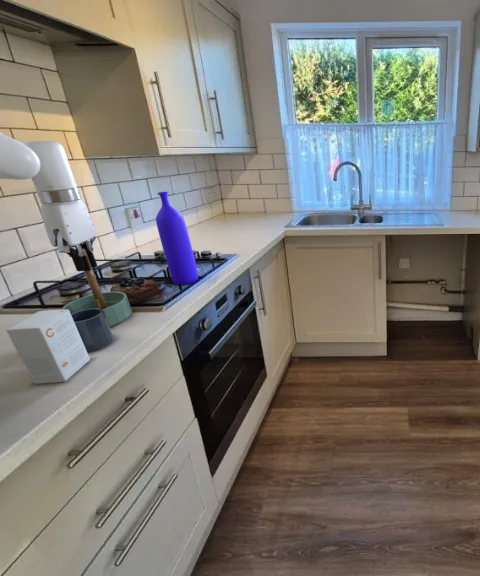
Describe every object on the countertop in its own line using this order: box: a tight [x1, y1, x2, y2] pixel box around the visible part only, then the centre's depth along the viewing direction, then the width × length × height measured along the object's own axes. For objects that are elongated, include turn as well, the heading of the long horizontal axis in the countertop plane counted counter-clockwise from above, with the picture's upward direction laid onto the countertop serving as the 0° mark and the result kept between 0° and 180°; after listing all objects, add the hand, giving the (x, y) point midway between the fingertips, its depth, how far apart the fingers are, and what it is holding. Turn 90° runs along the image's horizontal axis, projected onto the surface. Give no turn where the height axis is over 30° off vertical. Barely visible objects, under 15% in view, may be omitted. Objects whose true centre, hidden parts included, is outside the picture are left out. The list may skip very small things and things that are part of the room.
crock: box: [71, 308, 115, 353], centre depth 86 cm, size 7×7×8 cm
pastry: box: [109, 276, 160, 305], centre depth 113 cm, size 11×12×6 cm
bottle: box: [155, 191, 199, 286], centre depth 119 cm, size 8×8×30 cm
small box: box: [6, 309, 91, 385], centre depth 75 cm, size 8×6×13 cm
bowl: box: [60, 291, 133, 327], centre depth 98 cm, size 14×14×6 cm
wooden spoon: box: [82, 248, 108, 309], centre depth 95 cm, size 2×3×19 cm, turn 6°
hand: (87, 268), depth 93 cm, fingers closed on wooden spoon, 1 cm apart
